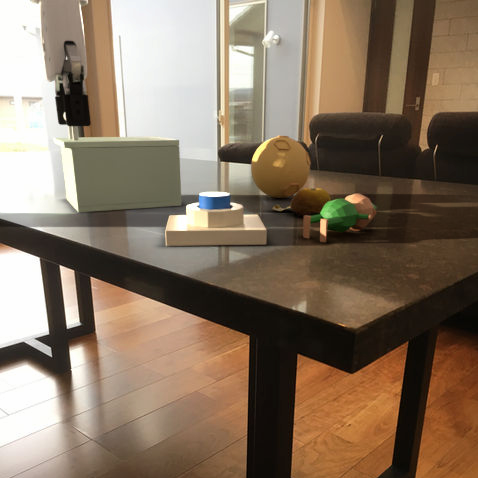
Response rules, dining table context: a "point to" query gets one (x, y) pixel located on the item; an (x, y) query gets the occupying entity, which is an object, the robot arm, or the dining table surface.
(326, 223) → the figurine
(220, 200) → the button
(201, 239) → the control block
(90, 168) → the compartment
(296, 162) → the stress ball
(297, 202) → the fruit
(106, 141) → the lid
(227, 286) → the dining table surface
